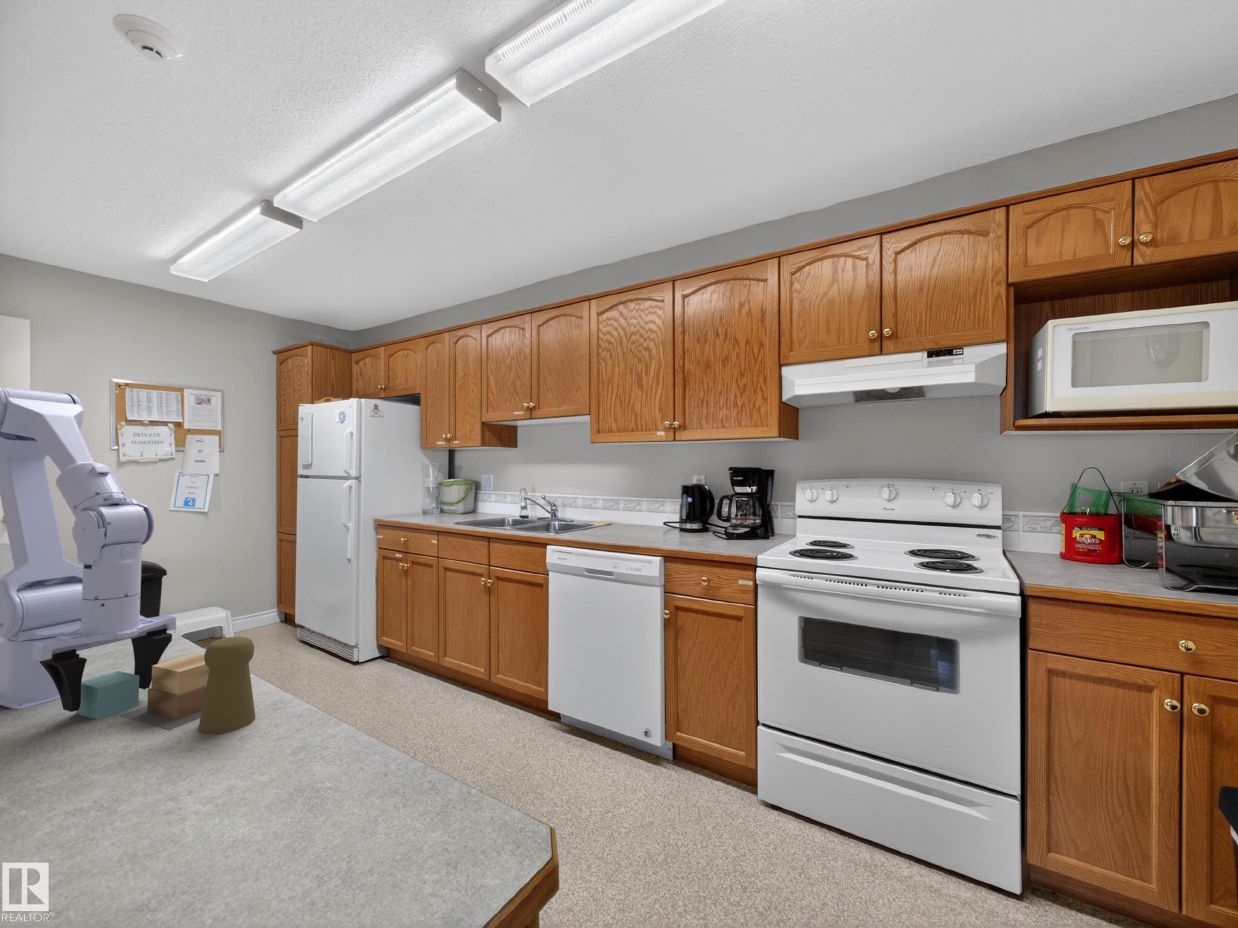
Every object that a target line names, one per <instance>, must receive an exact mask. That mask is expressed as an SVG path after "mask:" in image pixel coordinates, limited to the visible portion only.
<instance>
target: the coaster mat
mask: <svg viewBox="0 0 1238 928" xmlns="http://www.w3.org/2000/svg"><path fill="white" fill-rule="evenodd" d="M201 712H202V711H199V712H196V713H194V714H191V715H188V716H186V717H183V718H181V719H178V720H175V719H172V718H168V717H164V716H161V715H157V714H154V713H150V712H147V705H145V706H142V707H140V708H137V709H134V710H131V711H128V712H124V713H122V714H119V717H123V718H125V719H130V720H132V721H133V720H134V721H135V722H141V723H144V724H146V725H150V726H154V727H158V728H161V729H165V730H168V731H172V730H173V729H175V728H178V727H181V726H183V725H186V724H188V723H191V722H193V721H196V720H198V719H199V720H200V717H201Z"/></svg>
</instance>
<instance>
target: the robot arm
mask: <svg viewBox="0 0 1238 928" xmlns="http://www.w3.org/2000/svg"><path fill="white" fill-rule="evenodd" d="M84 412H85V410H84V407H83V404H82V402H81V401H80V399H79V398H78V396H76V394H74V393H72V392H71V393H70V392H63V393H62V392H54V391H45V390H44V391H43V390H35V389H26V388H17V387H10V386H9V387H8V386H0V501H1V505H2V512H3V517H4V522H5V527H6V532H7V537H8V542H9V547H10V553H11V557H12V563H13V568H12V569H11V570H10V571H8V572H6V573H5V574H4V575H2V576H1V577H0V638H1V639H2V640H1V641H0V706H2V707H6V708H8V709H15V710H19V711H20V710H24V709H28V708H30V707H35V706H38V705H43V704H45V703H48V702H52V701H56V700H58V699H60V701H61V705H62V709H63V710H64V711H67V712H71V713H72V712H76V711H77V710H79V708H80V703H81V681H83V680H82V679H83V674H84V671H85V667H86V664H87V661H88V659H87V658H85V657H82V656H81V651H84V650H88V649H93V648H97V647H100V646H101V647H102V646H105V645H109V644H113V643H117V642H122V641H126V640H130V642H131V644H132V649H133V650H132V651H133V659H134V669H133V670H134V671H133V674H134V675H138V676H139V689H140V690H141V689H142V690H148V689H149V688H151V684H152V666H153V665H156V664H159V662H160V660H161V658H162V656H163V654H164V652H165V651H166V649H167V648H168V647H169V645H170V643H171V642H172V641H173V633H170V631H173V630H176V629H177V627H176V626H177V616H176V615H171V614H165V615H164V614H163V615H159V616H153V617H147V618H140V616H141V615H140V614H141V613H140V612H141V587H142V586H141V585H142V584H141V583H142V559H143V557H142V556H143V555H142V554H143V545H145V544H147V543H149V541H150V540H151V538H152V536H153V533H154V529H155V521H154V517H153V514H152V512H151V510H150V507H149V506H147V505H146V504H145V503H141V502H138V501H137V500H136V499H134V498H129V497H128V495H127V493H126V492H125V490H124V489H123V487H122V486H121V484H120V482H119V481H118V479H117V477H116V476H115V474H114V473H113V471H112V470H111V468H110V467H109V466H108V465H106V464H103V463H99V462H95V459H94V457H93V455H92V453H91V451H90V447H88V444H87V442H86V439H85V438H84V435H83V433H82V431H81V428H82V424H83V420H84ZM47 456H48V458H50V460H51V461H52V462H53V463H54V465H55V466H56V467H57V469H58V470H59V471H60V472H61V473H60V474H59V475H58V476H57V478H56V481H55V485H56V488H57V489H58V491H59V492H60V494H61V496H62V497H63V499H64V501H65V503H66V504H67V506H68V508H69V510H70V511H71V513H72V515H73V516H74V518H75V520H74V523H73V526H72V528H71V532H72V538H73V542H74V544H75V545H76V549H77V551H76V552H77V555H76V556H77V558H76V559H78V563H80V564H76V563H74V562H72V561H70V560H68V559H67V558H65V554H64V549H63V543H62V539H61V538H62V537H61V534H60V529H59V525H58V524H59V523H58V519H57V516H56V510H55V505H54V500H53V496H52V491H51V487H50V482H49V477H48V476H49V475H48V472H47V468H46V462H45V459H46V457H47ZM81 564H82V565H81Z"/></svg>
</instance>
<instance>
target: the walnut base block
mask: <svg viewBox="0 0 1238 928" xmlns="http://www.w3.org/2000/svg"><path fill="white" fill-rule="evenodd" d="M205 691H206V686H204V687H201V688H198V689H195V690H193V691H190V692H187V693H184V694H181V695H175V694H171V693H167V692H163V691H159V690H155V689H151V687H149V688H147V702H146V706H147V712H150V713H154V714H157V715H161V716H164V717H168V718H172V719H175V720H178V719H181V718H183V717H186V716H188V715H191V714H194V713H196V712H199V711H202V706H203V701H204V696H205Z"/></svg>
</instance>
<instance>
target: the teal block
mask: <svg viewBox="0 0 1238 928" xmlns="http://www.w3.org/2000/svg"><path fill="white" fill-rule="evenodd" d="M139 694H140V688H139V676H138V675H134V673H130V672H124V671H121V670H118V671H114V672H113V671H112V672H111V673H107V674H102V675H99V676H95V677H92V678H89V679H85V680H82V681H81V703H80V708H79V710H77V711H75V714H77V715H80V716H83V717H87V718H91V719H94V720H100V719H103V718H105V717H110V716H112V715H114V714H118V713H120V712H124V711H127V710H130V709H133V708H135V707H139V701H140V700H139V698H140V697H139V696H140V695H139Z"/></svg>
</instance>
